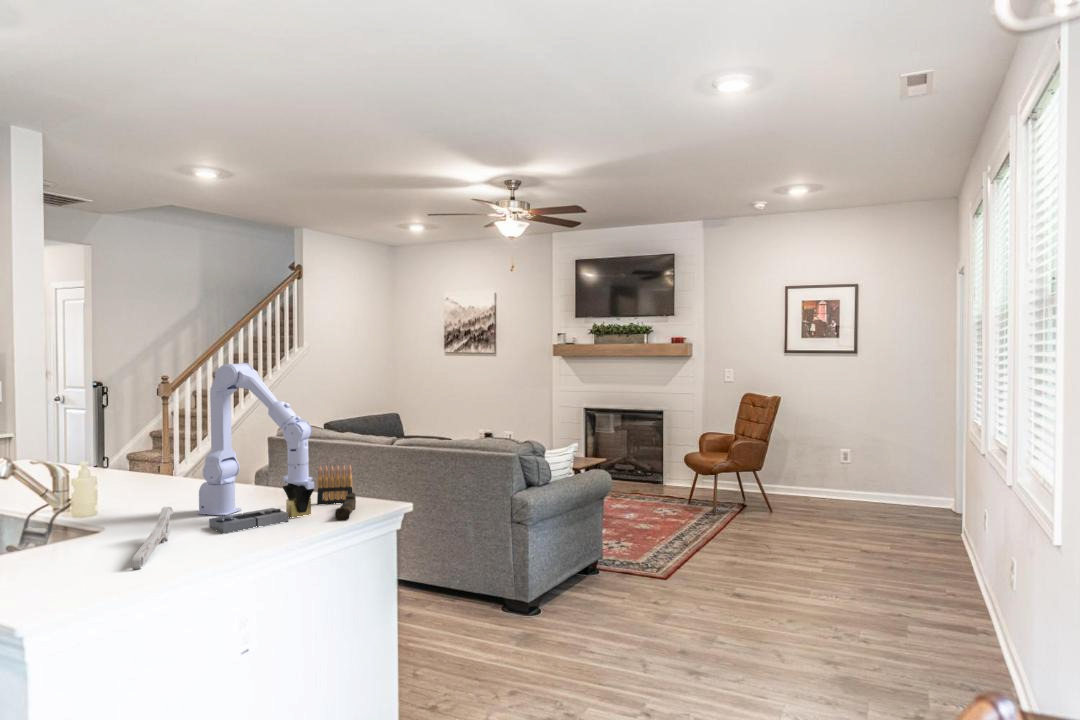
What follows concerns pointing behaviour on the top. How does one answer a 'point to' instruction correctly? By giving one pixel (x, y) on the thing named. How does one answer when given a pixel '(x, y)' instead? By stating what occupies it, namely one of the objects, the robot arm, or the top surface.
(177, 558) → the top surface
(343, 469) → the ammunition clip
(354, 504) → the dark brown elongated piece
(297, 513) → the brass rectangular block
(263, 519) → the chain ends
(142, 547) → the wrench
